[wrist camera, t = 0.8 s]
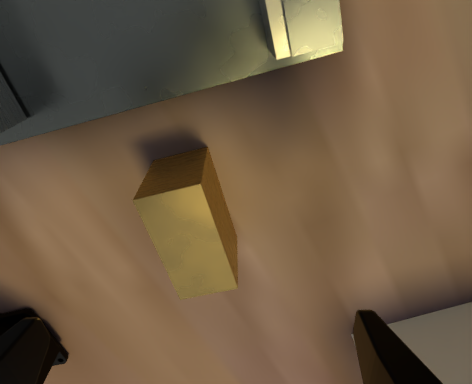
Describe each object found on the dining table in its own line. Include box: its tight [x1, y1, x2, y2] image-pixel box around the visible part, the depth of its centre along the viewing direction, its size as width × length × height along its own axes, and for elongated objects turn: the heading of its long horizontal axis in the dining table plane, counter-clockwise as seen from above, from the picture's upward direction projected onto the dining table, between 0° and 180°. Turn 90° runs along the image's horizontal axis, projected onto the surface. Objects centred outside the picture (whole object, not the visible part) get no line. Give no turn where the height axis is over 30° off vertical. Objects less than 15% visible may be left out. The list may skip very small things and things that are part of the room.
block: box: [133, 147, 238, 300], centre depth 20 cm, size 4×7×5 cm, turn 15°
